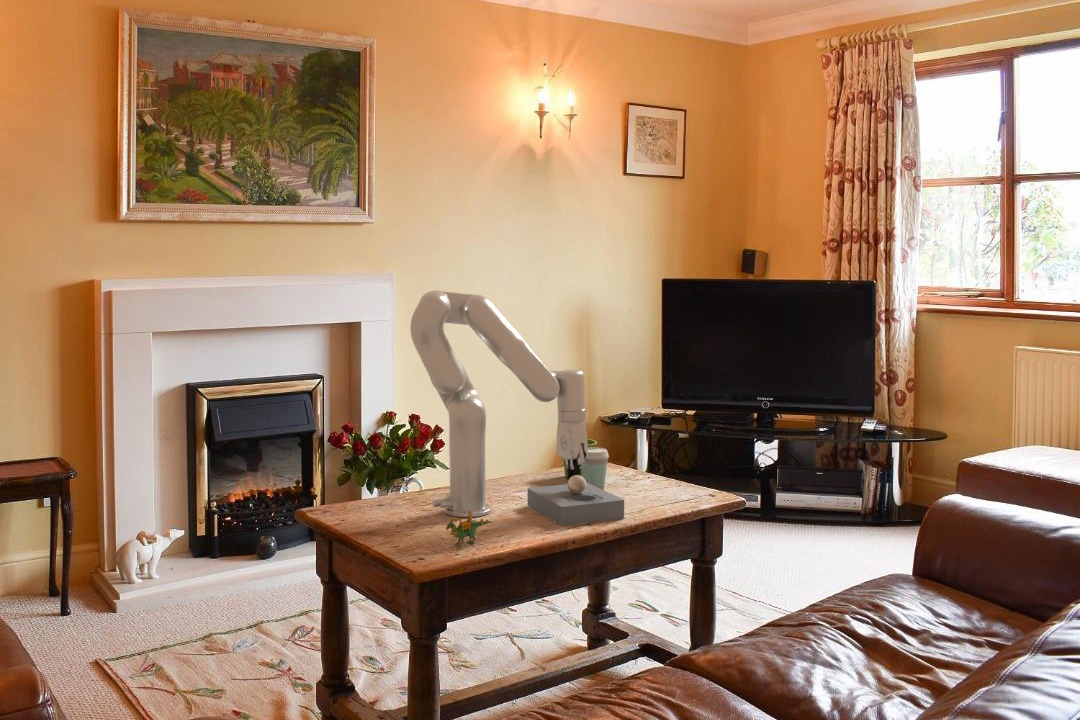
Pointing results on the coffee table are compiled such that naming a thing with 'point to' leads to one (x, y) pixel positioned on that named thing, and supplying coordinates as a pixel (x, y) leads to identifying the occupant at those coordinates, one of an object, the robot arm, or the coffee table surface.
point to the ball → (576, 484)
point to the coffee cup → (595, 467)
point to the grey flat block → (575, 504)
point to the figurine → (465, 528)
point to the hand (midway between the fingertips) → (574, 482)
